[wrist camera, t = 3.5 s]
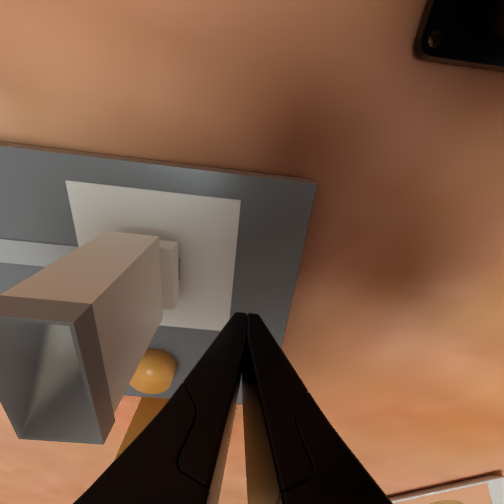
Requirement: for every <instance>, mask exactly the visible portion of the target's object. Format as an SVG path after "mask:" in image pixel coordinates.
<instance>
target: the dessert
mask: <svg viewBox="0 0 504 504" xmlns="http://www.w3.org/2000/svg"><path fill="white" fill-rule="evenodd" d="M484 483H488V487H489V492H490V496H491V500H492V504H504V476H497V475H488V476H483V477H479V478H474V479H470V480H465V481H461V482H456V483H452V484H447V485H443V486H438V487H434V488H429V489H425V490H420V491H416V492H411V493H407V494H402V495H398V496H393V497H389V499H390V501H391V502H392V503H395V502H400V501H405V500H409V499H414V498H419V497H423V496H428V495H433V494H437V493H442V492H447V491H451V490H456V489H461V488H465V487H470V486H475V485H479V484H484ZM431 504H463V503H461V502H459V501H453V500H445V501H438V502H434V503H431Z"/></svg>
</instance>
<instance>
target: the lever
mask: <svg viewBox="0 0 504 504" xmlns="http://www.w3.org/2000/svg"><path fill="white" fill-rule="evenodd" d="M178 300H179V279H178V242H174V241H165V240H159V236H151V235H141V234H132V233H123V232H113V231H105V232H104V233H102V234H100V235H99V236H97V237H95V238H94V239H92V240H90V241H89V242H87V243H85V244H84V245H82V246H80V247H79V248H77V249H75V250H74V251H72V252H70V253H69V254H67V255H65V256H64V257H62V258H60V259H59V260H57V261H55V262H54V263H52V264H50V265H49V266H47V267H45V268H44V269H42V270H40V271H39V272H37V273H35V274H34V275H32V276H30V277H29V278H27V279H25V280H24V281H22V282H20V283H19V284H17V285H15V286H14V287H12V288H10V289H9V290H7V291H5V292H4V293H2V294H0V402H1V404H2V406H3V408H4V410H5V412H6V414H7V416H8V418H9V420H10V422H11V424H12V426H13V428H14V430H15V432H16V434H17V436H18V438H19V439H29V440H44V441H59V442H73V443H88V444H103V445H104V443H105V441H106V438H107V436H108V434H109V432H110V430H111V428H112V426H113V424H114V422H115V418H114V412H115V410H116V408H117V406H118V404H119V403H120V401H121V399H122V397H123V395H124V393H125V391H126V389H127V387H128V385H129V383H130V381H131V379H132V377H133V375H134V373H135V371H136V369H137V367H138V366H139V364H140V362H141V360H142V358H143V356H144V354H145V352H146V350H147V348H148V346H149V344H150V342H151V340H152V338H153V336H154V334H155V332H156V330H157V329H158V327H159V325H160V323H161V321H162V319H163V309H168V310H174V309H175V306H176V304H177V302H178Z"/></svg>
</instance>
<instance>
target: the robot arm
mask: <svg viewBox="0 0 504 504" xmlns="http://www.w3.org/2000/svg"><path fill="white" fill-rule="evenodd" d="M430 34H433V35H434V36H435V39H436V40H435V45H434V47H433V48H432V47H430V46H429V43H428V39H429V36H430ZM414 50H415V54H416V55H417V57H418V58H420V59H422V60H428V61H435V62H442V63H449V64H456V65H463V66H469V67H476V68H483V69H490V70H497V71H504V0H428V1H427V4H426V8H425V11H424V14H423V17H422V20H421V24H420V27H419V30H418V33H417V36H416V40H415V45H414ZM241 375H242V403H243V421H244V440H245V459H246V477H247V496H248V504H393V503H392V502H391V501H390V499H389V498H388V497H387V496H386V494H385V493H384V492H383V491H382V489H381V488H380V487H379V486H378V484H377V483H376V482H375V480H374V479H373V478H372V477H371V475H370V474H369V473H368V472H367V470H366V469H365V468H364V467H363V465H362V464H361V463H360V461H359V460H358V459H357V458H356V456H355V455H354V454H353V453H352V451H351V450H350V449H349V448H348V446H347V445H346V444H345V442H344V441H343V440H342V438H341V437H340V436H339V435H338V433H337V432H336V431H335V429H334V428H333V427H332V425H331V424H330V423H329V421H328V420H327V418H326V417H325V415H324V414H323V412H322V411H321V409H320V408H319V407H318V405H317V404H316V402H315V400H314V399H313V397H312V396H311V394H310V393H309V392H308V390H307V388H306V387H305V385H304V384H303V382H302V380H301V379H300V377H299V376H298V374H297V373H296V371H295V370H294V368H293V366H292V365H291V363H290V362H289V360H288V359H287V357H286V356H285V354H284V353H283V351H282V349H281V348H280V346H279V345H278V343H277V342H276V340H275V339H274V337H273V335H272V334H271V332H270V331H269V329H268V328H267V326H266V325H265V323H264V322H263V320H262V318H261V317H260V315H259V314H255V313H247V314H246V313H244V312H235V313H234V314H233V315H232V316H231V318H230V319H229V321H228V322H227V323H226V325H225V326H224V327H223V329H222V330H221V331H220V333H219V334H218V335H217V337H216V338H215V339H214V341H213V342H212V343H211V345H210V346H209V347H208V349H207V350H206V351H205V353H204V354H203V355H202V357H201V358H200V359H199V361H198V362H197V363H196V365H195V366H194V367H193V369H192V370H191V371H190V373H189V374H188V375H187V377H186V378H185V379H184V381H183V383H181V385H180V386H179V387H178V389H177V390H176V391H175V393H174V394H173V395H172V397H171V398H170V399H169V400H168V402H167V403H166V404H165V405H164V407H163V408H162V409H161V410H160V412H159V413H158V414H157V415H156V416H155V417H154V418H153V419H152V421H151V422H150V423H149V424H148V425H147V426H146V427H145V428H144V430H143V431H142V432H141V433H140V434H139V435H138V436H137V437H136V438H135V439H134V440H133V441H132V442H131V444H130V445H129V446H128V447H127V448H126V449H125V450H124V451H123V452H122V453H121V454H120V455H119V456H118V458H117V459H116V460H115V461H114V462H113V463H112V464H111V465H110V466H109V467H108V468H107V469H106V470H105V472H104V473H103V474H102V475H101V476H100V477H99V478H98V479H97V480H96V481H95V482H94V483H93V484H92V485H91V486H90V487H89V489H88V490H87V491H86V492H85V493H84V494H83V495H82V496H80V497H79V498H78V499H77V500H76V501H75V502H74V503H73V504H218V501H219V496H220V490H221V485H222V480H223V474H224V469H225V463H226V458H227V453H228V447H229V442H230V437H231V431H232V426H233V421H234V415H235V410H236V404H237V399H238V394H239V388H240V382H241Z"/></svg>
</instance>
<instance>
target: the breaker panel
mask: <svg viewBox="0 0 504 504" xmlns="http://www.w3.org/2000/svg"><path fill="white" fill-rule="evenodd" d="M316 189H317V183H315V182H314V181H312V180H311V179H306V178H298V177H290V176H281V175H273V174H265V173H257V172H248V171H240V170H232V169H223V168H215V167H207V166H199V165H190V164H182V163H174V162H165V161H157V160H149V159H141V158H132V157H124V156H116V155H107V154H99V153H91V152H83V151H74V150H66V149H58V148H49V147H41V146H33V145H25V144H16V143H8V142H0V294H2V293H4V292H5V291H7V290H9V289H10V288H12V287H14V286H15V285H17V284H19V283H20V282H22V281H24V280H25V279H27V278H29V277H30V276H32V275H34V274H35V273H37V272H39V271H40V270H42V269H44V268H45V267H47V266H49V265H50V264H52V263H54V262H55V261H57V260H59V259H60V258H62V257H64V256H65V255H67V254H69V253H70V252H72V251H74V250H75V249H77V248H79V247H80V246H82V245H84V244H85V243H87V242H89V241H90V240H92V239H94V238H95V237H97V236H99V235H100V234H102V233H104V232H105V231H113V232H123V233H132V234H141V235H151V236H159V240H165V241H174V242H178V279H179V300H178V302H177V304H176V306H175V309H174V310H168V309H163V319H162V321H161V323H160V325H159V327H158V329H157V330H156V332H155V334H154V336H153V338H152V340H151V342H150V344H149V346H148V348H147V350H146V352H145V354H144V356H143V358H142V360H141V362H140V364H139V366H138V367H137V369H136V371H135V373H134V375H133V377H132V379H131V381H130V383H129V385H128V387H127V389H126V391H125V393H124V395H128V396H141V397H154V398H167V399H170V398H171V397H172V395H173V394H174V393H175V391H176V390H177V389H178V387H179V386H180V385H181V383H183V381H184V379H185V378H186V377H187V375H188V374H189V373H190V371H191V370H192V369H193V367H194V366H195V365H196V363H197V362H198V361H199V359H200V358H201V357H202V355H203V354H204V353H205V351H206V350H207V349H208V347H209V346H210V345H211V343H212V342H213V341H214V339H215V338H216V337H217V335H218V334H219V333H220V331H221V330H222V329H223V327H224V326H225V325H226V323H227V322H228V321H229V319H230V318H231V316H232V315H233V314H234V313H235V312H244V313H246V314H247V313H255V314H259V315H260V317H261V318H262V320H263V322H264V323H265V325H266V326H267V328H268V329H269V331H270V332H271V334H272V335H273V337H274V339H275V340H276V342H277V343H278V345H279V346H280V348H281V346H282V342H283V337H284V333H285V328H286V324H287V319H288V315H289V310H290V306H291V301H292V297H293V292H294V288H295V283H296V279H297V274H298V270H299V265H300V261H301V256H302V252H303V247H304V243H305V238H306V234H307V229H308V225H309V220H310V216H311V211H312V207H313V202H314V198H315V193H316ZM237 404H243V403H242V375H241V382H240V388H239V394H238V399H237Z"/></svg>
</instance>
